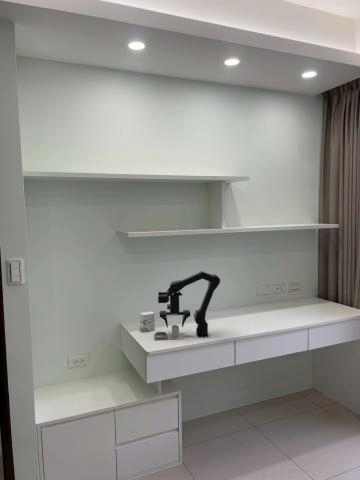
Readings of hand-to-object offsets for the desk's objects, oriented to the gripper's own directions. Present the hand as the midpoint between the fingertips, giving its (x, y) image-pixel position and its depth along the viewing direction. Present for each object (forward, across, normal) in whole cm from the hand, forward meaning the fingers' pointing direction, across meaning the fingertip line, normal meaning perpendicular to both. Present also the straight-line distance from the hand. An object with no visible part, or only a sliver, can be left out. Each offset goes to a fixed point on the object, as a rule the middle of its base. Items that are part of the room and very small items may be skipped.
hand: (174, 327), depth 228 cm
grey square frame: (+6, +9, 0) cm, 11 cm away
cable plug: (+6, 0, 0) cm, 6 cm away
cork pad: (+6, 0, 0) cm, 6 cm away
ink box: (+6, +17, -14) cm, 23 cm away
